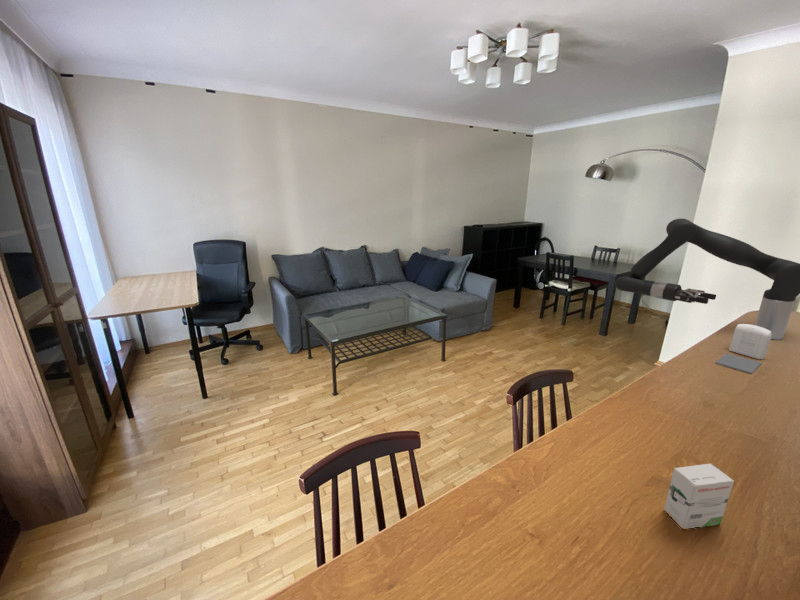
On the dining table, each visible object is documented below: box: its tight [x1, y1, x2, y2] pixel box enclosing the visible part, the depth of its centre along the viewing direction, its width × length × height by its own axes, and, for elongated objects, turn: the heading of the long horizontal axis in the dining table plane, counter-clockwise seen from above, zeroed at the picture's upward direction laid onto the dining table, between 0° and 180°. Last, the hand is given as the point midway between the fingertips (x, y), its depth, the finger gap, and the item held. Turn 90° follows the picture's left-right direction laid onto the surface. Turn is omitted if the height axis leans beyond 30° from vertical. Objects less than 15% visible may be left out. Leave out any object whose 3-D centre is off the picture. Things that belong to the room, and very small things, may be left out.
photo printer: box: [728, 323, 772, 360], centre depth 131 cm, size 10×4×12 cm, turn 28°
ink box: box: [663, 462, 735, 529], centre depth 68 cm, size 9×5×12 cm, turn 96°
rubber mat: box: [714, 353, 762, 375], centre depth 126 cm, size 12×10×1 cm
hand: (711, 299), depth 138 cm, fingers open, 8 cm apart
